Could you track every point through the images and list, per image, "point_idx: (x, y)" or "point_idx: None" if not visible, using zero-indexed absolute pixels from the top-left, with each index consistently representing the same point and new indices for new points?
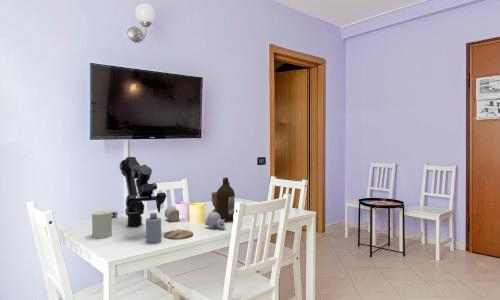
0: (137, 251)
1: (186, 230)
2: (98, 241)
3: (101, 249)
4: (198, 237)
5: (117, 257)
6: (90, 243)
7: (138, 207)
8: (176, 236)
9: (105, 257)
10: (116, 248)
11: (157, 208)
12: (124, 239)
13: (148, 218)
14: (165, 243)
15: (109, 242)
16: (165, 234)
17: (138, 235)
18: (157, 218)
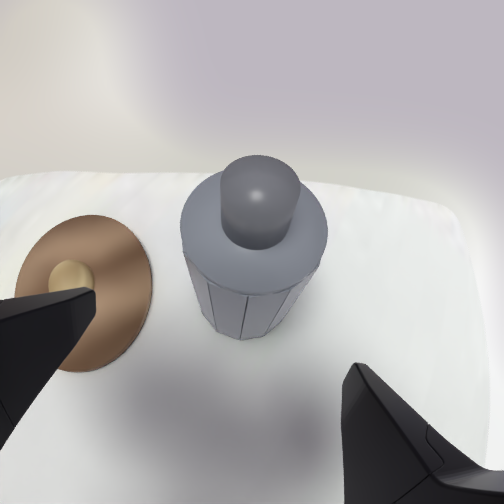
0: (373, 218)
1: None
2: None
3: (470, 342)
4: (65, 198)
5: (438, 216)
6: (472, 453)
7: (406, 421)
8: (116, 251)
9: (466, 243)
10: (430, 315)
11: (45, 368)
12: None
13: (282, 275)
14: None
15: None
16: (124, 333)
17: (242, 477)
18: (213, 212)
